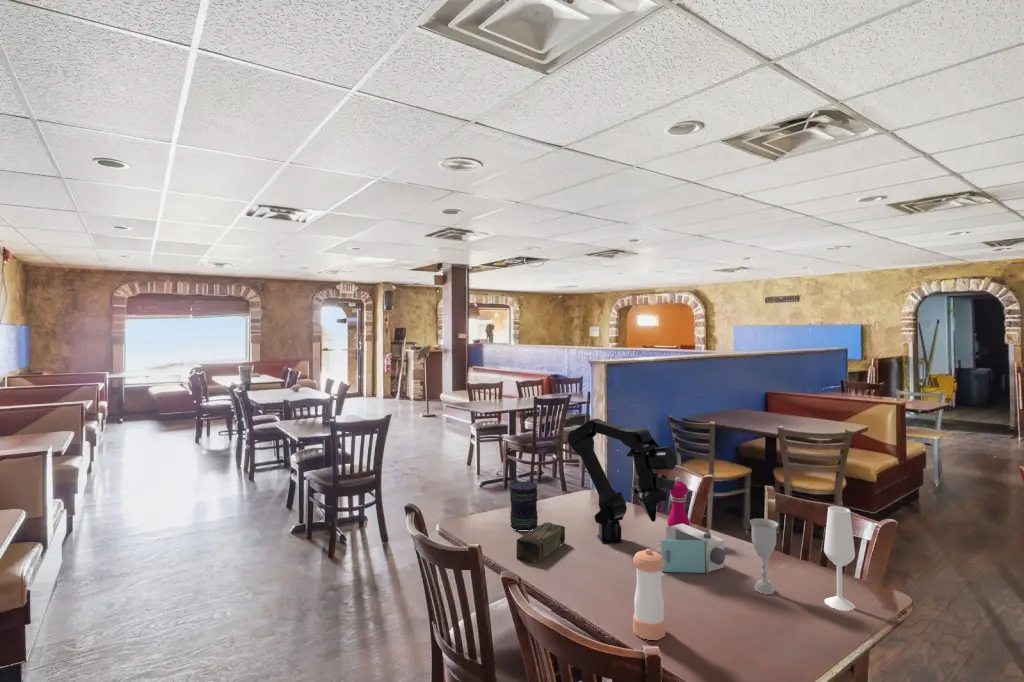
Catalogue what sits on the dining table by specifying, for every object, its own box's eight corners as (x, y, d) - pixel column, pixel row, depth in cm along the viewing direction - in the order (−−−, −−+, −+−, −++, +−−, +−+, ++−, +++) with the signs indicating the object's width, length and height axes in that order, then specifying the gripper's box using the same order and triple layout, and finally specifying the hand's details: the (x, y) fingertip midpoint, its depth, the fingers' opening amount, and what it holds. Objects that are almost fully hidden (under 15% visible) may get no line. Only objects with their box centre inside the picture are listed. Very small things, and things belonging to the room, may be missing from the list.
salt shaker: (660, 623, 128) (659, 542, 127) (670, 640, 120) (669, 555, 120) (629, 624, 127) (628, 543, 127) (637, 641, 120) (637, 556, 120)
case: (665, 553, 168) (665, 523, 168) (682, 548, 172) (682, 519, 171) (710, 574, 153) (710, 542, 152) (728, 569, 156) (728, 537, 156)
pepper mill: (687, 532, 185) (686, 474, 185) (692, 540, 178) (691, 480, 178) (665, 531, 186) (665, 474, 186) (669, 539, 179) (669, 479, 179)
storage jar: (512, 521, 198) (511, 481, 198) (539, 522, 197) (538, 481, 197) (508, 531, 188) (507, 488, 188) (536, 532, 187) (535, 489, 187)
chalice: (766, 598, 139) (765, 529, 138) (744, 587, 145) (743, 521, 144) (784, 592, 142) (784, 524, 142) (762, 581, 148) (761, 516, 148)
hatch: (704, 571, 154) (704, 540, 154) (705, 574, 152) (705, 543, 152) (661, 570, 156) (661, 539, 155) (662, 573, 154) (662, 541, 154)
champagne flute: (818, 597, 139) (818, 505, 139) (845, 597, 139) (844, 504, 138) (833, 610, 132) (833, 513, 132) (861, 611, 132) (861, 513, 132)
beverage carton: (566, 543, 177) (566, 523, 177) (537, 565, 161) (537, 543, 161) (545, 539, 182) (544, 519, 181) (515, 559, 165) (514, 538, 165)
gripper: (680, 468, 160) (690, 522, 158) (659, 463, 178) (668, 512, 176) (643, 474, 159) (653, 528, 157) (627, 468, 178) (635, 517, 175)
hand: (653, 521), depth 166 cm, fingers closed
